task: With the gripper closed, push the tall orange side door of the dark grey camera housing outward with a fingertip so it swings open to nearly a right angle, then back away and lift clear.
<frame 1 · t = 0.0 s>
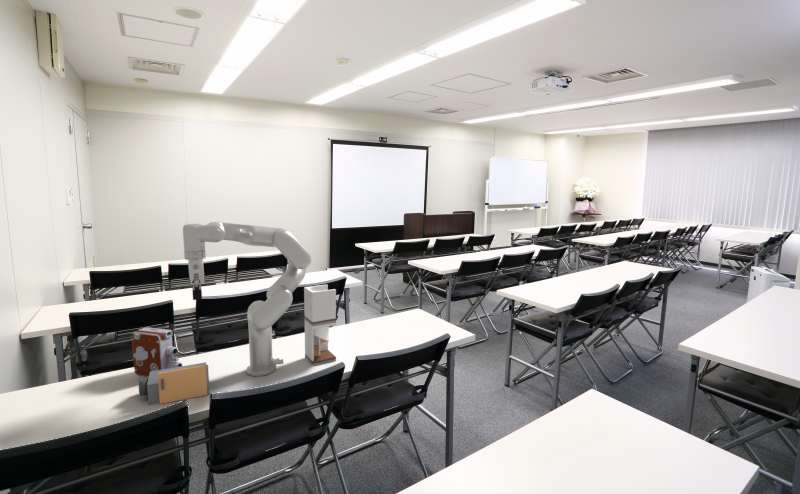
hand: (197, 296, 161), 37 cm above the table, tool pointing down, fingers open, 9 cm apart
display case: (320, 359, 190), on the table
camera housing: (179, 391, 158), on the table
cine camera: (159, 374, 172), on the table
side door: (184, 384, 151), point 6 cm above the table, hinge at 0.0°
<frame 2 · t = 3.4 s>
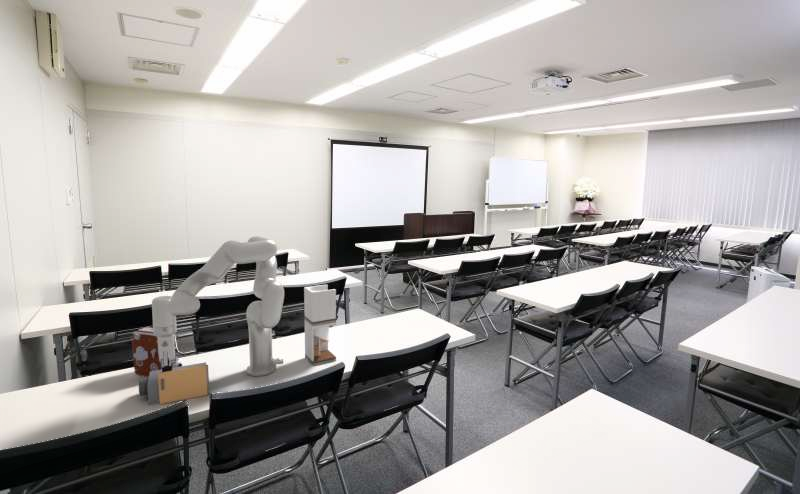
hand: (167, 375, 151), 10 cm above the table, tool pointing down, fingers closed
side door: (184, 384, 151), point 6 cm above the table, hinge at 0.6°, touching gripper
everything else where it was.
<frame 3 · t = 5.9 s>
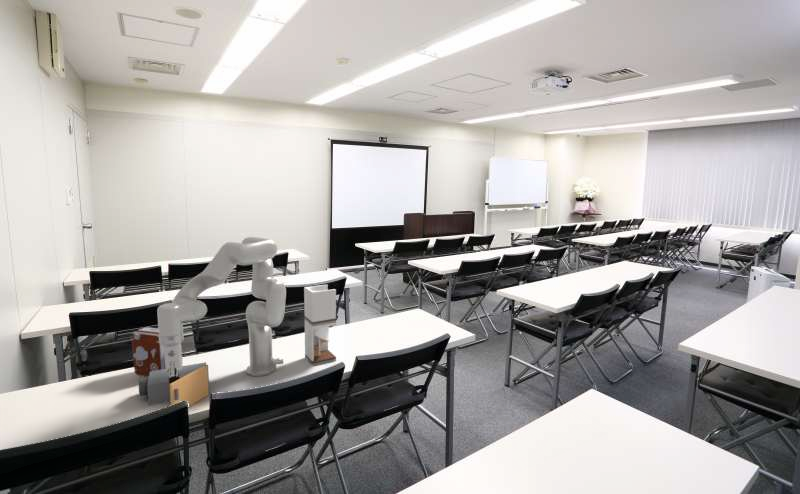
hand: (174, 386, 144), 9 cm above the table, tool pointing down, fingers closed
side door: (191, 389, 148), point 6 cm above the table, hinge at 43.8°, touching gripper
everything else where it was.
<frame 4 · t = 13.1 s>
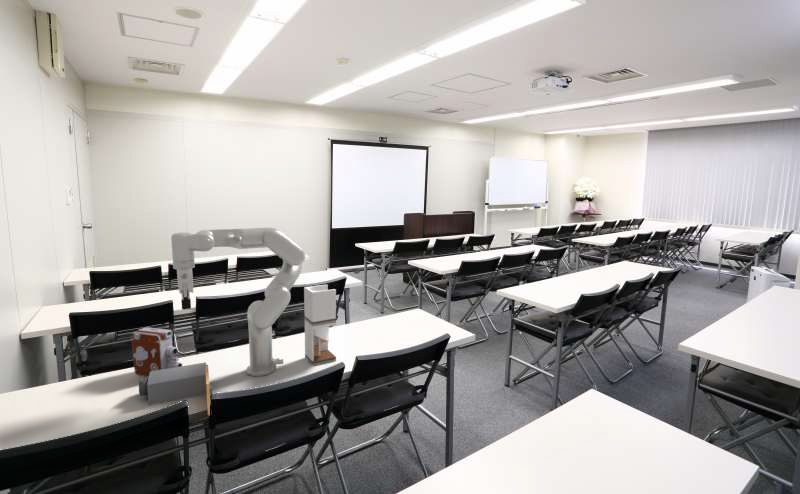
hand: (186, 308, 160), 32 cm above the table, tool pointing down, fingers closed
side door: (209, 388, 149), point 6 cm above the table, hinge at 89.4°
everything else where it was.
at the end: side door at +89° (first picture: +0°); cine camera moved 0.2 cm from its start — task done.
